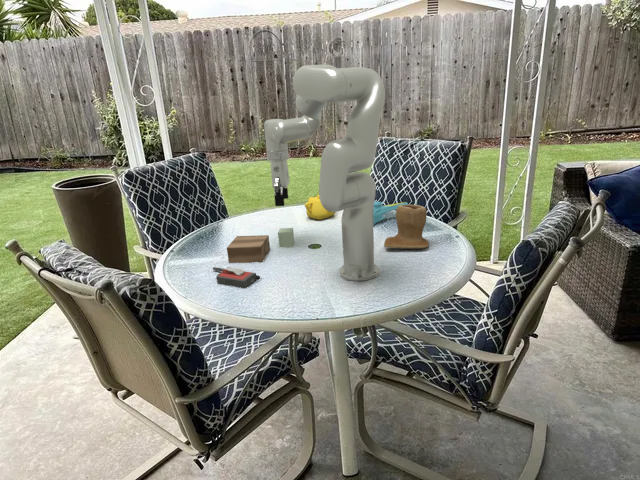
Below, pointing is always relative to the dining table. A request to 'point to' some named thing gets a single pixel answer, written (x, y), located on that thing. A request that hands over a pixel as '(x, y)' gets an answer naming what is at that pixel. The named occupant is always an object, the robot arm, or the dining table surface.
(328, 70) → the robot arm
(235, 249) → the walnut box
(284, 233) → the sage block
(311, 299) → the dining table surface
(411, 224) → the clay spout
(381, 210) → the decorative bird
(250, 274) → the walkie-talkie
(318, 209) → the teapot
